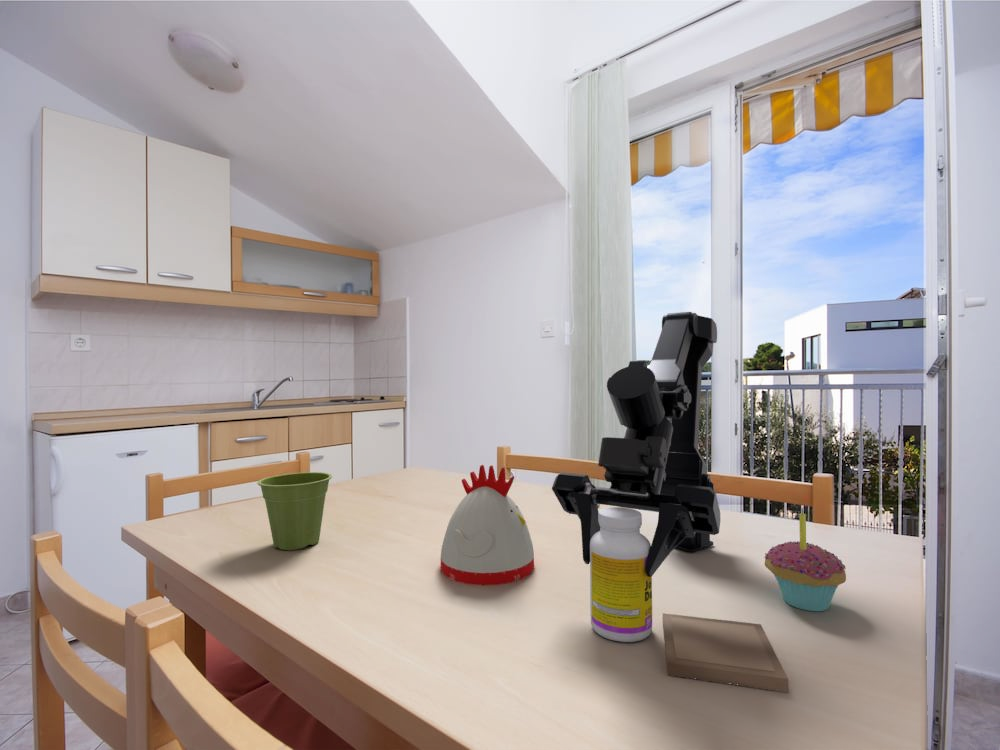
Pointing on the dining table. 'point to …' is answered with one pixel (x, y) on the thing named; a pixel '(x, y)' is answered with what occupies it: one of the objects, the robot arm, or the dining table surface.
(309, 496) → the plant pot
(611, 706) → the dining table surface
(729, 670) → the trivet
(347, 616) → the dining table surface
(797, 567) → the cupcake
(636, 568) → the supplement bottle
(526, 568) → the kitchen timer
